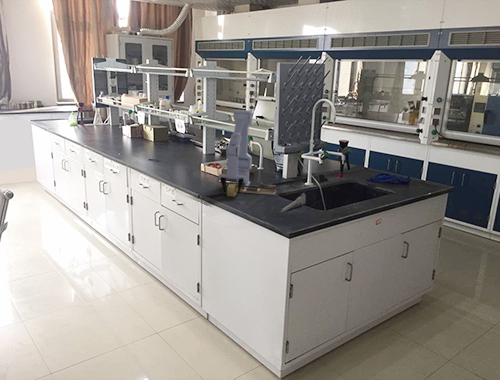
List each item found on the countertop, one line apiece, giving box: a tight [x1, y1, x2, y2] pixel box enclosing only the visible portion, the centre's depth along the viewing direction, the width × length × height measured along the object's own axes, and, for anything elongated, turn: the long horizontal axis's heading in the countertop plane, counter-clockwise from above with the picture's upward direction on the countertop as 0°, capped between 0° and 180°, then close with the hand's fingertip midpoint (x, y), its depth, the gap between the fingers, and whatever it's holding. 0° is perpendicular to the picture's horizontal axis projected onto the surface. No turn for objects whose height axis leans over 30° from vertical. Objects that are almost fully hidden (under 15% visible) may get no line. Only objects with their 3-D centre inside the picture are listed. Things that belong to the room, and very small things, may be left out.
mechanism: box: [229, 181, 277, 196], centre depth 231 cm, size 7×26×5 cm, turn 81°
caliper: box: [280, 192, 306, 213], centre depth 205 cm, size 20×1×6 cm, turn 140°
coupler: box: [226, 183, 238, 197], centre depth 224 cm, size 4×7×5 cm, turn 171°
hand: (231, 191), depth 224 cm, fingers open, 7 cm apart
